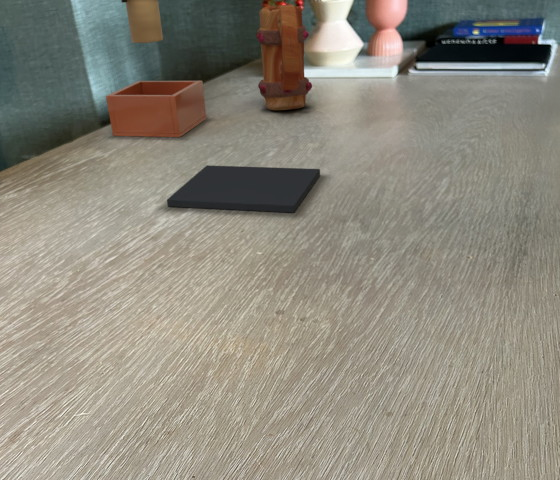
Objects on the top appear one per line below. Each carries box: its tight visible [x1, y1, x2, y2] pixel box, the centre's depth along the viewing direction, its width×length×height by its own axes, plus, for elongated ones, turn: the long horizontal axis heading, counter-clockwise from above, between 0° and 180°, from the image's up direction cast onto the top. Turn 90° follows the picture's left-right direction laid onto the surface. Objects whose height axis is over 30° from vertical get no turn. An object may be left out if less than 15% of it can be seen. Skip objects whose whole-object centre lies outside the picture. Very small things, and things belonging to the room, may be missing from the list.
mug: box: [255, 4, 313, 111], centre depth 100 cm, size 15×8×15 cm, turn 6°
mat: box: [166, 165, 321, 214], centre depth 74 cm, size 14×12×1 cm
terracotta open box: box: [105, 80, 207, 138], centre depth 99 cm, size 11×11×6 cm
